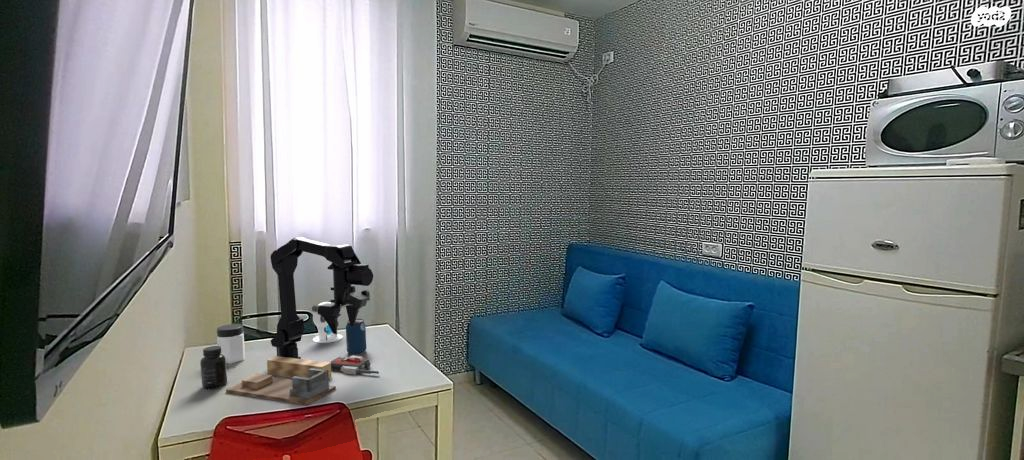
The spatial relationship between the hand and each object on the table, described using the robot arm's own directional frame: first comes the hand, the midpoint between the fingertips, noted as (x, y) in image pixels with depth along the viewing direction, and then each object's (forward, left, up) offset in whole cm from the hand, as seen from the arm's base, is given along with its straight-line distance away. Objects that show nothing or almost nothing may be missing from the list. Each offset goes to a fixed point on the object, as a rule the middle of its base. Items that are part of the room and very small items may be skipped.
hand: (343, 329), depth 170 cm
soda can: (-8, +17, -14) cm, 23 cm away
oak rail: (-12, -8, -14) cm, 20 cm away
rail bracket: (-8, -20, -14) cm, 26 cm away
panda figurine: (-30, +28, -14) cm, 43 cm away
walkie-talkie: (+3, +2, -14) cm, 15 cm away
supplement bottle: (-31, -23, -14) cm, 41 cm away
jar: (-46, -3, -14) cm, 48 cm away
